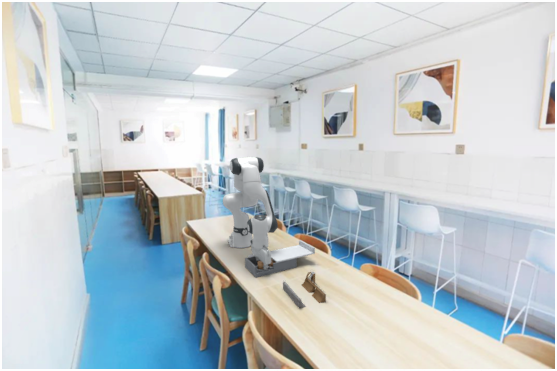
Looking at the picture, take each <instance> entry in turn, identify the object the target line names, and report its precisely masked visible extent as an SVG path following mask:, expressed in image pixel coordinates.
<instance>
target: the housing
mask: <svg viewBox="0 0 557 371" xmlns="http://www.w3.org/2000/svg"><path fill="white" fill-rule="evenodd" d="M260 261H261V260H260ZM297 264H298V263H297V258H295V259H291V260H286V261H282V262H278V263H273V267H270V266H269V264H268V265H267V269H266V270H264V269H262V270H261V269H258V264H257V263H256V258H255V256H252V257H248V256H247V257H245V258H244V268H245V269H247V270H248V271H249V273H250V274H252V276H253V277H255V279H257V278H261V277H264V276H268V275H272V274H277V273H279V272H280V273H281V272H283V271H287V270H292V269H296V268H297Z"/></svg>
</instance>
